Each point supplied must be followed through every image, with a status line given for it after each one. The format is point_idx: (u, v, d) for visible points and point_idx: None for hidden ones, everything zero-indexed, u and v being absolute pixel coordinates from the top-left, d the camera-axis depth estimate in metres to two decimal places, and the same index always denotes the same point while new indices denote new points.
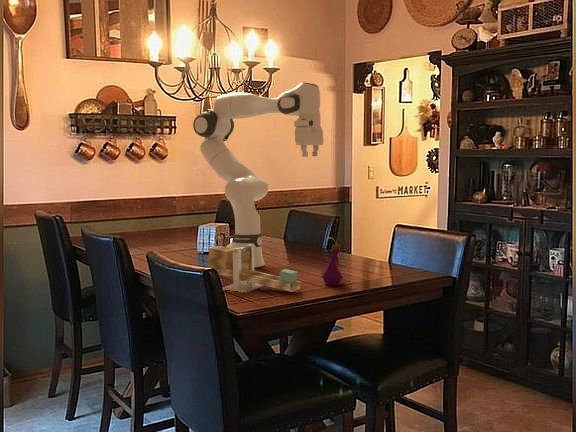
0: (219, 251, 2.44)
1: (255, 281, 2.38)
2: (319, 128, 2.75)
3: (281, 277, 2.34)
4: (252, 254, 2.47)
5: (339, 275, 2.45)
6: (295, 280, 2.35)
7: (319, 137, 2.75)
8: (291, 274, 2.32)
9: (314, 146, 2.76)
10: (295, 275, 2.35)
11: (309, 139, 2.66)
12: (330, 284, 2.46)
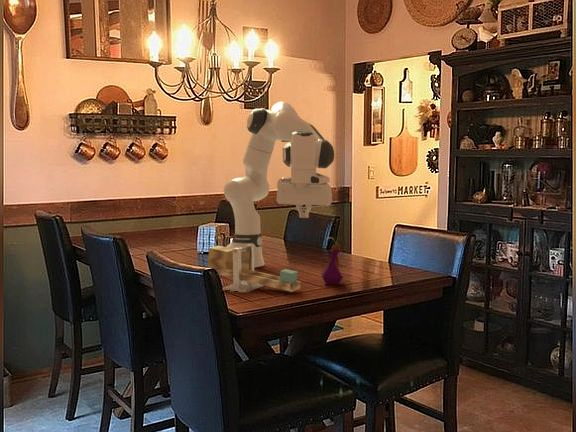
0: (219, 251, 2.44)
1: (255, 281, 2.38)
2: None
3: (281, 277, 2.34)
4: (252, 254, 2.47)
5: (339, 275, 2.45)
6: (295, 280, 2.35)
7: None
8: (291, 274, 2.32)
9: (300, 206, 2.30)
10: (295, 275, 2.35)
11: None
12: (330, 284, 2.46)
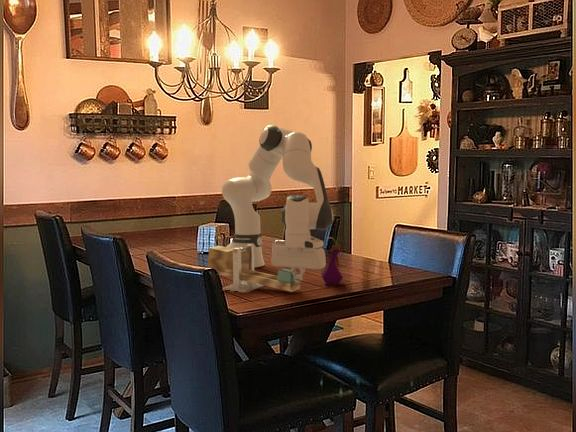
0: (219, 251, 2.44)
1: (255, 281, 2.38)
2: None
3: (279, 277, 2.35)
4: (252, 254, 2.47)
5: (339, 275, 2.45)
6: (293, 279, 2.36)
7: None
8: (289, 274, 2.33)
9: (294, 268, 2.34)
10: None
11: None
12: (330, 284, 2.46)
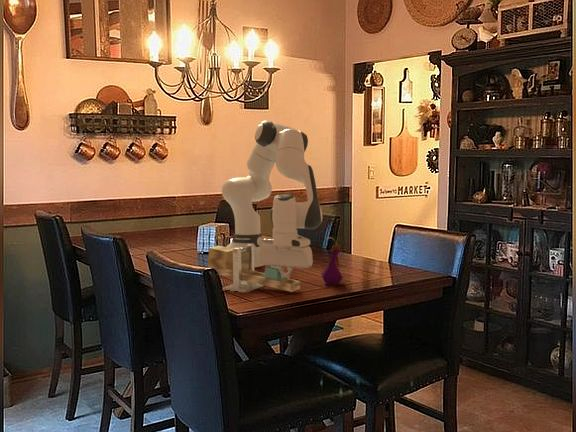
0: (219, 251, 2.44)
1: (255, 281, 2.38)
2: None
3: (266, 274, 2.37)
4: (252, 254, 2.47)
5: (339, 275, 2.45)
6: (280, 276, 2.38)
7: None
8: (276, 271, 2.35)
9: (282, 267, 2.36)
10: None
11: None
12: (330, 284, 2.46)
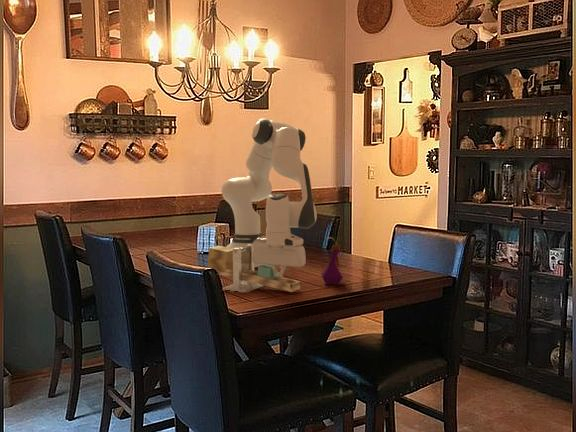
0: (219, 251, 2.44)
1: (255, 281, 2.38)
2: None
3: (259, 272, 2.38)
4: (252, 254, 2.47)
5: (339, 275, 2.45)
6: (273, 275, 2.39)
7: None
8: (269, 269, 2.36)
9: (275, 266, 2.37)
10: None
11: None
12: (330, 284, 2.46)
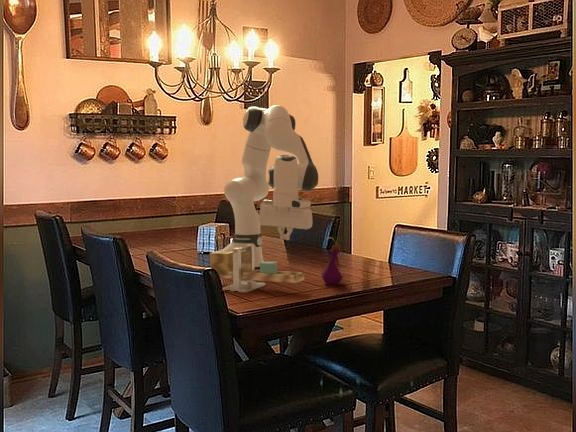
0: (220, 254, 2.44)
1: (259, 278, 2.37)
2: None
3: (261, 269, 2.38)
4: (252, 254, 2.47)
5: (339, 275, 2.45)
6: (276, 270, 2.38)
7: None
8: (270, 264, 2.36)
9: (281, 228, 2.36)
10: (275, 265, 2.38)
11: None
12: (330, 284, 2.46)
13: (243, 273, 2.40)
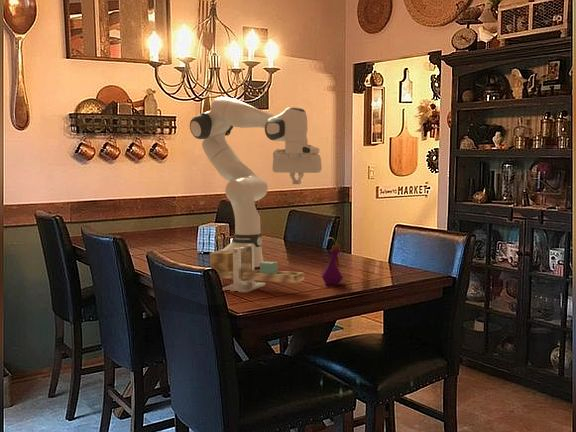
0: (220, 254, 2.44)
1: (259, 278, 2.37)
2: None
3: (261, 269, 2.38)
4: (252, 254, 2.47)
5: (339, 275, 2.45)
6: (276, 270, 2.38)
7: None
8: (270, 264, 2.36)
9: (293, 174, 2.59)
10: (275, 265, 2.38)
11: None
12: (330, 284, 2.46)
13: (243, 273, 2.40)
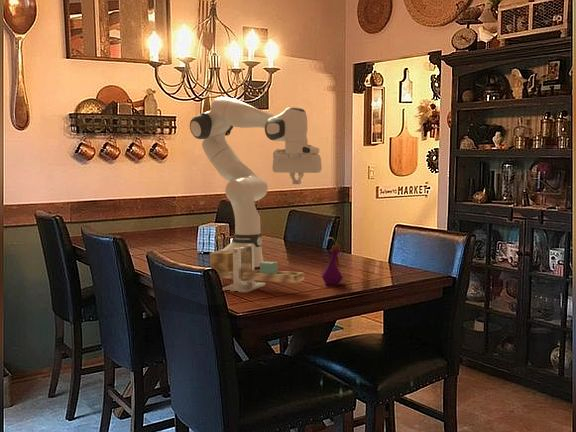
0: (220, 254, 2.44)
1: (259, 278, 2.37)
2: None
3: (261, 269, 2.38)
4: (252, 254, 2.47)
5: (339, 275, 2.45)
6: (276, 270, 2.38)
7: None
8: (270, 264, 2.36)
9: (293, 174, 2.59)
10: (275, 265, 2.38)
11: None
12: (330, 284, 2.46)
13: (243, 273, 2.40)
